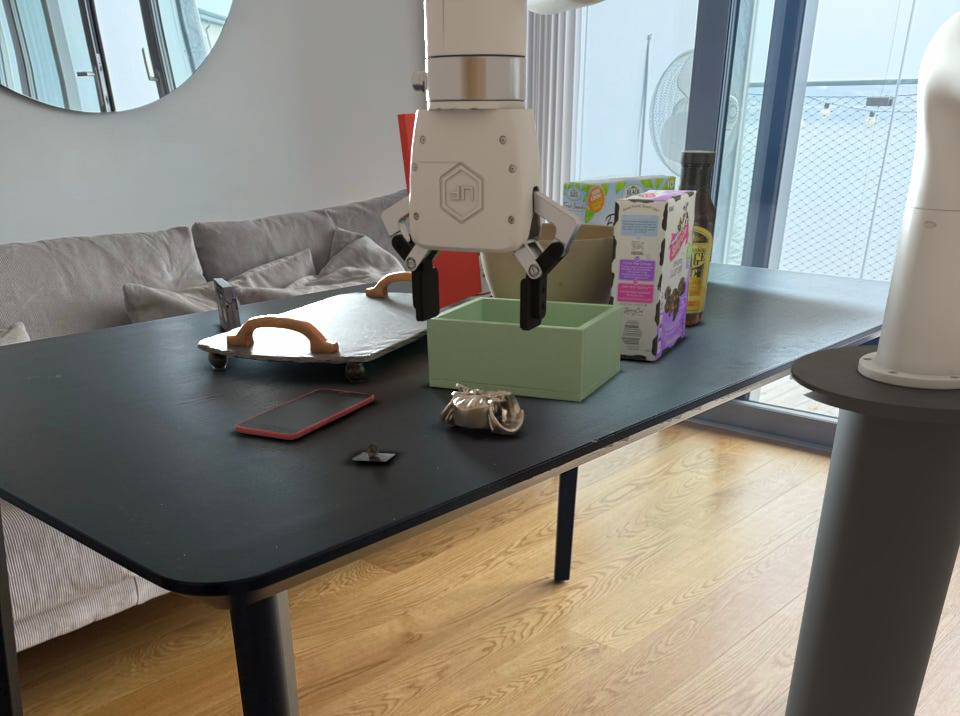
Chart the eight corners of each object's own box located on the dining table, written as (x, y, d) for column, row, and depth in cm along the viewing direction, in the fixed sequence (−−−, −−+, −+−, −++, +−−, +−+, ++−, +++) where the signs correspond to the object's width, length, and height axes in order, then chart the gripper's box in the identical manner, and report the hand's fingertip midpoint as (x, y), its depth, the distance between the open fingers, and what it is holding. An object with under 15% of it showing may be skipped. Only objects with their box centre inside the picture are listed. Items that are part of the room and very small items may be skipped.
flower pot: (579, 359, 103) (583, 243, 97) (451, 341, 112) (447, 235, 106) (649, 329, 116) (656, 225, 109) (529, 316, 125) (530, 219, 119)
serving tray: (355, 310, 131) (351, 264, 128) (502, 319, 123) (502, 270, 120) (178, 374, 101) (167, 316, 98) (358, 392, 93) (353, 330, 90)
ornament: (542, 424, 82) (542, 383, 80) (500, 445, 77) (500, 402, 75) (470, 411, 86) (469, 372, 84) (426, 430, 81) (424, 390, 79)
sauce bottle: (650, 326, 117) (662, 152, 107) (658, 317, 122) (670, 149, 112) (702, 328, 115) (719, 151, 105) (707, 319, 120) (724, 149, 110)
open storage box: (619, 371, 98) (623, 305, 94) (580, 402, 88) (582, 329, 85) (480, 359, 104) (479, 296, 101) (429, 386, 94) (426, 318, 91)
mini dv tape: (242, 335, 118) (234, 286, 115) (230, 336, 118) (222, 287, 115) (231, 323, 125) (224, 277, 122) (220, 324, 125) (213, 278, 121)
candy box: (656, 363, 101) (667, 198, 92) (605, 359, 103) (612, 198, 94) (686, 337, 111) (699, 187, 103) (639, 334, 113) (648, 187, 105)
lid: (465, 111, 92) (458, 112, 92) (404, 113, 82) (396, 114, 83) (482, 292, 100) (475, 292, 101) (429, 313, 90) (422, 314, 91)
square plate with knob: (362, 452, 77) (361, 437, 76) (396, 454, 76) (395, 440, 76) (351, 460, 74) (350, 445, 74) (385, 462, 74) (385, 447, 73)
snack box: (584, 291, 140) (588, 182, 132) (558, 287, 144) (560, 181, 136) (669, 274, 152) (677, 173, 145) (643, 271, 156) (649, 172, 148)
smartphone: (378, 394, 89) (293, 435, 79) (379, 400, 90) (294, 441, 79) (319, 387, 92) (230, 426, 81) (320, 393, 92) (231, 432, 82)
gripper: (352, 89, 69) (368, 323, 77) (566, 84, 62) (557, 340, 71) (400, 90, 75) (410, 308, 83) (601, 86, 68) (589, 322, 77)
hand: (478, 322), depth 77 cm, fingers open, 9 cm apart
